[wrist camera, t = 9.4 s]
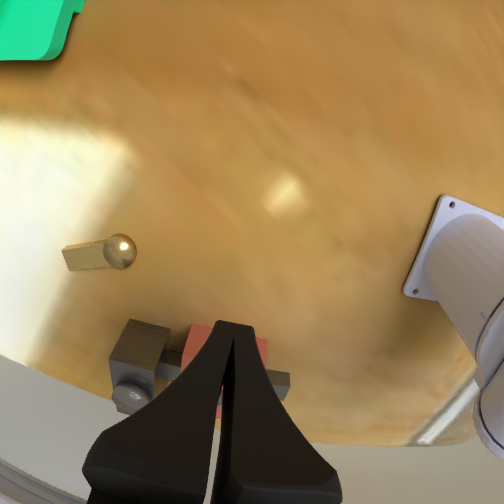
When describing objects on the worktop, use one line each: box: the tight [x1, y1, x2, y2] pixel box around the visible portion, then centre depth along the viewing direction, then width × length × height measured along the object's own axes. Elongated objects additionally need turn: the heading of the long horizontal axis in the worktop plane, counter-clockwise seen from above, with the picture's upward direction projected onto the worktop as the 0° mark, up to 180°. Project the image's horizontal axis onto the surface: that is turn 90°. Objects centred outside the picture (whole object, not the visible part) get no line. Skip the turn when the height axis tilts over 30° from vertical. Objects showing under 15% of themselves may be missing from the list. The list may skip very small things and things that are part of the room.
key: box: [62, 234, 137, 271], centre depth 22 cm, size 6×2×1 cm, turn 99°
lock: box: [180, 324, 267, 418], centre depth 25 cm, size 6×7×4 cm
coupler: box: [109, 319, 290, 415], centre depth 24 cm, size 14×7×6 cm, turn 79°
